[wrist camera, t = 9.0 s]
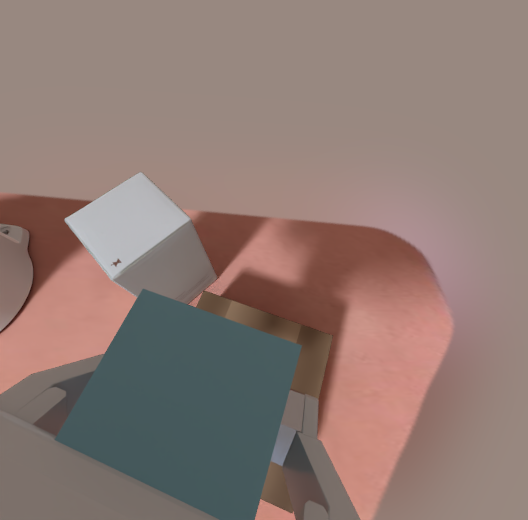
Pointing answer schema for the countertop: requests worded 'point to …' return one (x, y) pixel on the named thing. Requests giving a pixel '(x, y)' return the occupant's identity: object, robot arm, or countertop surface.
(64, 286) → the countertop surface
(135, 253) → the supplement box
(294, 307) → the countertop surface
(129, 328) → the blue square pillar
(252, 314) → the well block
